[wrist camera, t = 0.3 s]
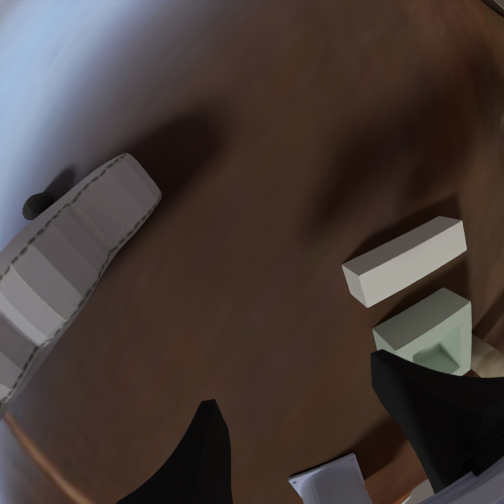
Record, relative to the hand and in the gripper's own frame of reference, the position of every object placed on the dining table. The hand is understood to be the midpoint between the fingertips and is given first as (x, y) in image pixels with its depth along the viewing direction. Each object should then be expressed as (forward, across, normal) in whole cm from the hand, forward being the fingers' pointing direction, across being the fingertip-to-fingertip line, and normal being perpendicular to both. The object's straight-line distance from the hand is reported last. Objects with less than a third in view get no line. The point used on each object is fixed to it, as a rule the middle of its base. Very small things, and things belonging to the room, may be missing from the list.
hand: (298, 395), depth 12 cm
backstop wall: (+10, -11, -1) cm, 15 cm away
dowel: (+10, -20, +12) cm, 26 cm away
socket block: (+10, -13, +8) cm, 18 cm away
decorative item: (+10, +18, -6) cm, 21 cm away
